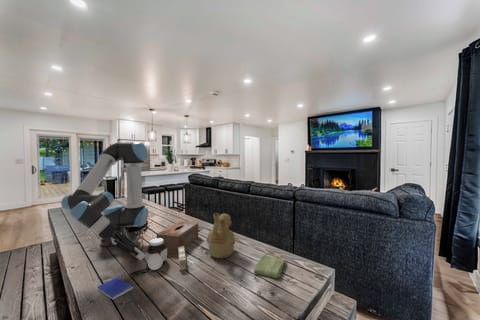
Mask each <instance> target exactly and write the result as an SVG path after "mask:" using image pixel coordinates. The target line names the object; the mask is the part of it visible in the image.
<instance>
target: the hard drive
mask: <svg viewBox="0 0 480 320" xmlns="http://www.w3.org/2000/svg"><path fill="white" fill-rule="evenodd" d="M133 289H134V286H133V285H132V284H130V283H128V282H126V281H125V280H123V279H121V278H119V277H115V278H113V279H111V280H109V281H106V282H105V283H102V284H101V285H98V286H97V290H99V291H100V292H101V293H103V294H104V295H105V296H106V297H109V298H110V299H112V300H115V299H117V298H118V297H120V296H122V295H124V294H126V293H128V292H130V291H131V290H133Z"/></svg>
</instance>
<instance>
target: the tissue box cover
mask: <svg viewBox="0 0 480 320" xmlns="http://www.w3.org/2000/svg"><path fill="white" fill-rule="evenodd" d="M156 238H162V239H163V243H164V244H165V245H166V246H167V253H174V254H175V253H176V254H178V247H180V246H184V249H185V248H186V247H188V246H189V245H190V244H192V243H193V242H194V241H195V240H196V239H197V238H199V222H196V221H195V222H193V221H184V220H183V221H182V220H179V221H178V222H175V223H174V224H172V225H170V226H168V227H167V228H165V229H163V230H161V231H159V232H157V233H156Z"/></svg>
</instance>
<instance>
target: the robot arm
mask: <svg viewBox="0 0 480 320" xmlns="http://www.w3.org/2000/svg"><path fill="white" fill-rule="evenodd" d="M147 159H148V149H147V147H146V145H145V144H144V143H142V142H140V141H139V142H138V141H127V142H124V141H121V142H115V143H112V144H111V145H109V146H108V147H107V148H104V150H103V151H102V152H101V153H100V154H99V156H98V160H97V161H96V163H95V164H94V165H93V167H91V170H89V171H88V173H87V174H86V176H85V177H84V179H83V180H82V182H81V183H80V184H79V185H78V187H76V189H75V190H74V192H73V193H72V194H68V195H67V194H66V195H65V196H64V197H63V198H62V199H61V203H60V204H61V207H62V209H64V210H65V211H70V212H69V214H70V216H72V217H73V219H74V220H76V221H77V222H79V223H80V224H82V226H85V228H87V229H89V230H90V232H91V233H92V232H93V233H94V234H96V235H98V237H99V238H100V246H102V247H115V248H117V249H118V250H120V251H122V252H124V253H126V254H128V255H130V254H132V255H133V256H134V257H135V258H136V259H138V260H139V261H142V260H143V259H144V258H146V253H144V252H143V251H141V250H140V249H139V248H137V247H136V246H137V244H135V243H134V241H132V239H130V237H129V236H128V233H127V231H126V228H125V227H142V226H144V225H145V224H146V222H147V220H148V218H149V214H150V213H149V211H150V210H149V209H148V208H147V207H146V206H145V203H144V202H143V191H142V190H143V188H142V186H143V185H142V183H143V182H142V165H143V164H144V163H145V161H146V160H147ZM119 161H123V165H124V166H125V168H126V171H125V172H126V204H125V205H124V204H118V205H113V206H111V205H112V204H113V202H114V201H115V198H114V195H113V194H112V193H111V192H109V191H103V192H101V193H99V194H94V193H95V191H96V190H97V188H98V187H99V185H100V184H101V182H102V181H103V179H104V178H105V177H106V175H107V174H108V172H109V171H110V169H111V167H112V166H114V165H116V163H117V162H119ZM102 213H103V214H102Z"/></svg>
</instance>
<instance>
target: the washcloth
mask: <svg viewBox="0 0 480 320" xmlns="http://www.w3.org/2000/svg"><path fill="white" fill-rule="evenodd" d="M285 263H287V261H286V260H285V259H284V258H281V257H276V256H274V255H267V254H263V255H262V256H261V257H260V258H259V260H258V261H257V263H256V264H255V267H254V269H253V274H256V275H260V276H266V277H269V278H272V279H279V278H280V277H281V274H282V272H283V271H282V270H283V269H284V265H285Z"/></svg>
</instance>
